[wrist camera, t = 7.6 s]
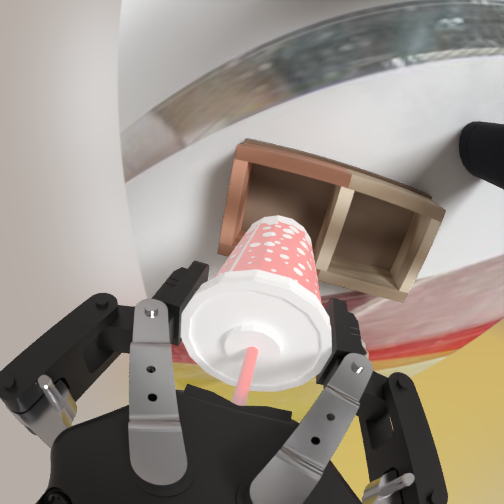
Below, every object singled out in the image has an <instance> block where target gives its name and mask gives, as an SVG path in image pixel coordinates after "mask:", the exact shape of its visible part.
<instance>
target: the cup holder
mask: <svg viewBox="0 0 504 504" xmlns="http://www.w3.org/2000/svg"><path fill="white" fill-rule="evenodd" d="M431 199H432V196H430V195H429V194H426V193H424V192H422V191H419V190H417V189H414V188H412V187H409V186H407V185H404V184H402V183H399V182H397V181H394V180H391V179H389V178H386V177H383V176H380V175H378V174H375V173H372V172H369V171H366V170H363V169H360V168H357V167H354V166H351V165H348V164H345V163H341V162H338V161H335V160H332V159H328V158H325V157H321V156H318V155H314V154H311V153H307V152H303V151H299V150H296V149H292V148H288V147H284V146H279V145H275V144H271V143H267V142H262V141H257V140H253V139H248V138H247V139H245V142H244V143H242V144H239V145H237V147H236V152H235V157H234V163H233V168H232V173H231V178H230V184H229V189H228V195H227V200H226V206H225V212H224V217H223V223H222V229H221V235H220V241H219V247H218V253H217V254H221V255H224V256H228V257H229V256H230V254H231V253H232V252H233V250H234V249H235V247H236V246H237V245H238V243H239V242H240V240H241V239H242V238H243V236H244V235H245V234H246V232H247V231H248V229H249V228H250V227H251V225H252V224H253V223H255V222H257V221H258V220H260V219H262V218H264V217H269V216H277V215H279V216H283V217H287V218H291V219H293V220H295V221H296V222H297V223H299V224H300V225H301V226H303V227H304V228H305V230H306V232H307V233H308V235H309V237H310V238H311V243H312V249H313V254H314V260H315V266H316V272H317V278H318V281H321V282H325V283H329V284H333V285H336V286H340V287H344V288H348V289H352V290H356V291H359V292H363V293H367V294H371V295H375V296H379V297H383V298H387V299H391V300H395V301H399V302H402V303H403V302H404V300H405V298H406V297H407V295H408V293H409V291H410V289H411V287H412V285H413V283H414V281H415V280H416V278H417V276H418V274H419V272H420V270H421V267H422V265H423V263H424V261H425V259H426V257H427V255H428V253H429V250H430V248H431V246H432V244H433V241H434V239H435V237H436V234H437V232H438V229H439V227H440V225H441V222H442V220H443V217H444V214H445V212H446V210H444V209H443V208H442V207H440V206H439V205H438V204H436V203H435V202H433V201H432V200H431Z"/></svg>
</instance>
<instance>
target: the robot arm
mask: <svg viewBox="0 0 504 504" xmlns="http://www.w3.org/2000/svg"><path fill="white" fill-rule="evenodd" d="M208 273H209V265H208V264H205V263H201V262H198V261H194V262H193V263H192V264H191V266H190V267H189V268H188V269H186V268H183V267H182V268H180V269H178V270H176V271H174V272H173V273H172V274H171V275H170V277H169V278H168V279H167V280H166V282H165V283H164V284H163V285H162V286H161V288H160V289H159V290H158V291H157V293H156V294H155V295H154V296H153V298H152V299H145V300H142V301H140V302H139V303H138V304H137V305H136V307H130V306H121V305H118V303H117V299H116V298H115V297H114V296H113V295H111V294H108V293H98V294H95V295H93V296H92V297H90V298H89V299H87V300H86V301H85V302H83V303H82V304H81V305H80V306H78V307H77V308H76V309H74V310H73V311H72V312H71V313H69V314H68V315H67V316H66V317H64V318H63V319H62V320H61V321H59V322H58V323H57V324H55V325H54V326H53V327H52V328H51V329H50V330H48V331H47V332H46V333H44V334H43V335H42V336H41V337H40V338H38V339H37V340H36V341H35V342H34V343H32V344H31V345H30V346H29V347H28V348H27V349H25V350H24V351H23V352H22V353H21V354H20V355H19V356H17V357H16V358H15V359H14V360H13V361H12V362H11V363H9V364H8V365H7V366H6V367H5V368H4V369H3V370H2V371H0V398H1V399H2V401H3V402H4V403H5V405H6V407H7V408H8V409H9V410H10V412H11V413H12V414H13V415H14V416H15V417H16V418H17V420H18V421H19V422H20V423H21V424H23V425H24V426H25V427H26V428H27V429H28V430H29V431H30V432H31V433H32V434H34V435H37V436H38V437H39V438H40V439H41V440H42V441H43V442H44V443H46V444H47V445H48V446H49V447H50V448H51V474H50V480H49V485H48V488H47V490H46V492H45V493H44V494H43V495H42V497H41V498H40V499H39V500H38V501H37V502H36V504H447V501H448V493H447V489H446V485H445V480H444V476H443V472H442V468H441V465H440V461H439V457H438V454H437V450H436V447H435V444H434V440H433V437H432V434H431V431H430V428H429V425H428V422H427V419H426V416H425V413H424V410H423V407H422V404H421V402H420V399H419V396H418V393H417V391H416V388H415V386H414V383H413V381H412V380H411V379H410V378H409V377H408V376H407V375H405V374H403V373H400V372H395V373H393V374H391V375H390V376H389V378H387V377H385V376H383V375H381V374H378V373H376V372H375V371H373V366H372V364H371V362H370V361H369V360H368V359H367V358H366V357H365V356H364V354H363V348H362V341H361V336H360V330H359V324H358V320H357V319H356V317H355V316H354V314H353V313H349V312H348V311H347V304H346V301H342V300H338V299H334V298H331V299H330V300H329V302H328V305H327V307H326V309H325V311H326V313H327V314H328V316H329V317H330V325H331V335H332V353H331V355H330V357H329V359H328V360H327V362H326V364H325V365H324V367H323V369H322V370H321V372H320V373H319V374H318V375H317V376H316V384H321V385H324V390H323V391H322V393H321V394H320V395H319V397H318V398H317V400H316V401H315V403H314V404H313V405H312V407H311V408H310V410H309V411H308V412H307V414H306V415H305V416H304V418H303V419H302V420H301V422H300V423H298V422H296V421H295V420H292V419H291V416H292V412H291V411H286V410H281V409H277V408H272V407H267V406H240V405H236V404H234V403H232V402H230V401H228V400H227V399H225V398H223V397H221V396H219V395H217V394H215V393H214V392H211V391H208V390H205V389H202V388H199V387H196V386H193V385H190V384H187V386H186V388H185V390H175V382H174V373H173V363H172V353H171V344H174V345H177V346H179V344H180V342H181V340H182V338H181V318H182V312H183V310H184V309H185V307H186V306H187V304H188V303H189V301H190V300H191V299H192V297H193V296H194V294H195V293H196V291H197V290H198V289H199V287H200V286H201V285H202V284H203V283H205V282H207V281H208ZM121 353H129V354H130V363H129V405H127V406H125V407H122V408H120V409H117V410H115V411H112V412H110V413H107V414H104V415H102V416H99V417H97V418H94V419H91V420H88V421H85V422H83V423H80V424H77V425H74V426H71V423H72V421H73V419H74V417H75V415H76V412H77V406H76V403H75V402H76V401H77V400H78V399H79V398H80V397H81V396H82V394H83V393H84V392H85V391H86V390H87V389H88V388H89V387H90V386H91V385H92V384H93V383H94V382H95V380H96V379H97V378H98V377H99V376H100V375H101V374H102V373H103V372H104V371H105V370H106V369H107V368H108V367H109V366H110V364H111V363H112V362H113V361H114V360H115V359H116V358H117V357H118V356H119V355H120V354H121ZM355 415H357V416H359V422H360V427H361V432H362V437H363V443H364V448H365V454H366V460H367V466H368V473H369V479H370V483H369V484H368V485H367V486H366V488H365V490H364V495H363V497H362V502H361V501H360V500H359V498H358V497H357V496H356V494H355V493H354V492H353V491H352V489H351V488H350V486H349V485H348V484H347V482H346V481H345V480H344V478H343V477H342V476H341V474H340V473H339V472H338V470H337V469H336V467H335V466H334V465H333V463H332V462H331V460H330V459H331V457H332V456H333V454H334V452H335V451H336V449H337V447H338V446H339V444H340V442H341V440H342V439H343V437H344V435H345V433H346V432H347V430H348V428H349V426H350V424H351V422H352V420H353V418H354V417H355ZM390 418H391V422H392V425H391V422H390ZM392 426H393V429H392Z"/></svg>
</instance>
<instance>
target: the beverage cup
mask: <svg viewBox="0 0 504 504" xmlns="http://www.w3.org/2000/svg"><path fill="white" fill-rule="evenodd" d="M181 338H182V341H183V343H184V345H185V347H186V349H187V351H188V354H189V356H190V357H191V358H192V359H193V360H194V361H195V362H196V363H197V364H198V365H199V366H200V367H201V368H202V369H203V370H204V371H205V372H207V373H208V374H210V375H212V376H214V377H216V378H217V379H219V380H221V381H223V382H225V383H226V384H228V385H232V386H236V388H235V392H234V395H233V398H232V403H234V404H236V405H240V406H246V402H247V398H248V394H249V390H251V391H282V390H286V389H290V388H293V387H297V386H300V385H303V384H305V383H306V382H308V381H309V380H310V379H312V378H313V377H315V376H316V375H318V374H319V373H320V372H321V370H322V369H323V367H324V365H325V364H326V362H327V360H328V359H329V357H330V355H331V353H332V335H331V325H330V317H329V316H328V314H327V313H326V311H325V309H324V308H323V306H322V304H321V297H320V291H319V284H318V278H317V272H316V266H315V260H314V254H313V249H312V243H311V238H310V237H309V235H308V233H307V232H306V230H305V228H304V227H303V226H301V225H300V224H299V223H297V222H296V221H295V220H293V219H291V218H287V217H283V216H279V215H277V216H269V217H264V218H262V219H260V220H258V221H257V222H255V223H253V224H252V225H251V227H250V228H249V229H248V231H247V232H246V234H245V235H244V236H243V238H242V239H241V240H240V242H239V243H238V245H237V246H236V247H235V249H234V250H233V252H232V253H231V254H230V256H229V257H228V259H227V260H226V261H225V263H224V264H223V266H222V267H221V268H220V270H219V271H218V273H217V274H216V275H215V277H214V278H213V279H211V280H209V281H207V282H205V283H203V284H202V285H201V286H200V287H199V289H198V290H197V291H196V293H195V294H194V296H193V297H192V299H191V300H190V301H189V303H188V304H187V306H186V307H185V309H184V310H183V312H182V318H181Z"/></svg>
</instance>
